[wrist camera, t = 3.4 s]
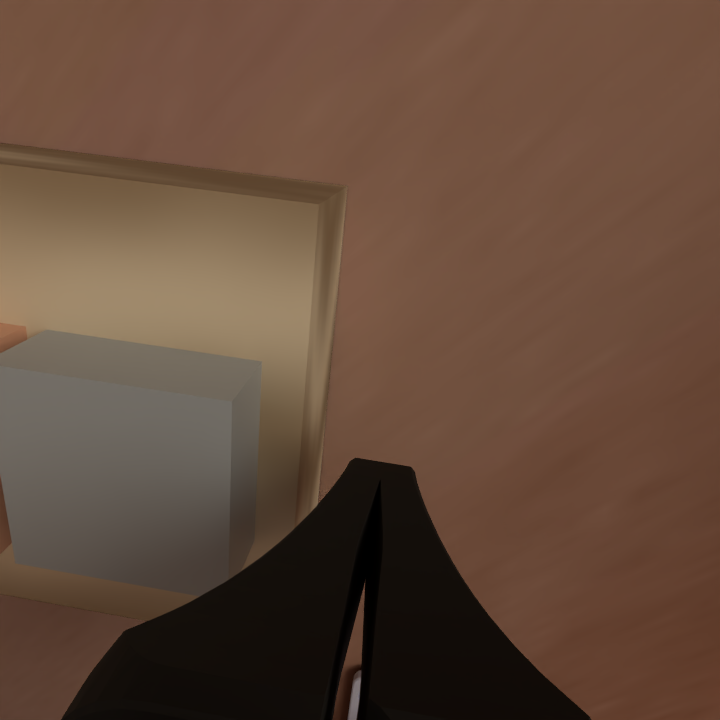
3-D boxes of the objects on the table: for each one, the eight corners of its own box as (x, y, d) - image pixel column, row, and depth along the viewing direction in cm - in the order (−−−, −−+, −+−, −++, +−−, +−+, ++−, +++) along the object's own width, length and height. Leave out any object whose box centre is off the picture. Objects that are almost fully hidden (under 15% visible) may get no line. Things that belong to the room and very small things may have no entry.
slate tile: (254, 540, 14) (228, 601, 12) (67, 509, 15) (15, 563, 13) (261, 361, 12) (231, 401, 10) (46, 329, 13) (-19, 363, 11)
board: (313, 548, 19) (285, 646, 16) (-68, 482, 20) (-179, 561, 17) (347, 186, 15) (319, 204, 11) (-149, 124, 16) (-330, 122, 12)
